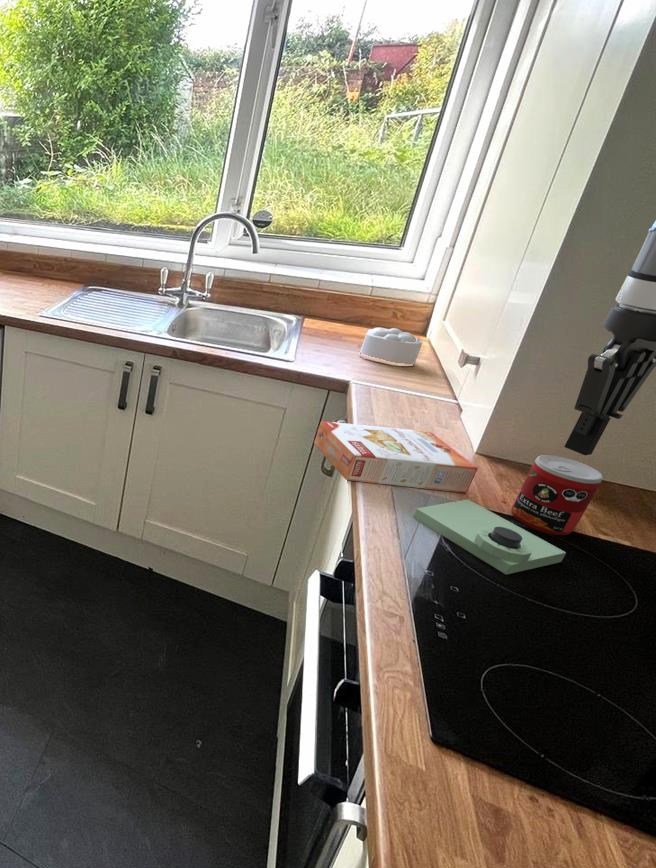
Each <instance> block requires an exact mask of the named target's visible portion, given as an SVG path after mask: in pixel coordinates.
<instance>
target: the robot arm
mask: <svg viewBox="0 0 656 868" xmlns="http://www.w3.org/2000/svg"><path fill="white" fill-rule="evenodd" d="M640 248H641V249H639V253H638V255H637V257H636V258H635V261H634V263H633V264H632V267H631V270H629V273H628V275H626V278H625V279H624V281H623V284H622V286H621V287H620V289H619V291H618V293H617V295H616V297H615V302H617V303H618V304H616V305H613V306H611V308H610V311H609V312H608V314H607V317H606V319H605V320H604V322H603V324H602V327H603V329H604V330H605V331H607V332H609V333H612V335H613V337H611V339H610V340H609V341H608V343H607V344H606V345H605V346H604V347H603V350H602V352H601V353H602V354H600V355H599V354H595V353H592V354H590V355H589V356H588V358H587V368H586V372H585V375H584V378H583V381H582V384H581V387H580V390H579V393H578V396H577V400H576V401H575V406H574V407H573V408H574V410H575V411H578V412H580V415H579V417H578V419H577V421H576V423H575V425H574V427H573V429H572V430H571V432H570V435H569V436H568V439H567V440H566V443H565V444H564V446H563V447H564V448H565V449H567V450H571V451H573V452H574V453H575V452H576V453H578V454H581V455H583V456H591V455H592V454H593V453H594V450H595V449H596V446H597V445H598V443H599V441H600V439H601V438H602V436H603V434H604V432H605V430H606V428H607V427H608V424H609V423H610V421H611V417H612V418H614V419H616V420H620V419H621V418H622V417H623V416H624V415H623V414H621V413H623V412H624V411H625V410H627V407H628V406H629V404H630V403H631V401H632V400H633V399H634V397H635V396H636V394H637V393H638V392H639V390H640V389H641V387H642V386H643V385H644V383H645V382H646V380H647V379H648V378H649V376H650V375H651V373H652V372H653V370H654V369H655V368H656V220H655V221H654V222H653V224H652V226H651V227H650V228H649V229H648V230H647V235H646V237H645V240H644V241H643V244H642V246H641V247H640ZM618 412H620V413H618Z"/></svg>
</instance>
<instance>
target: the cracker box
mask: <svg viewBox="0 0 656 868" xmlns="http://www.w3.org/2000/svg"><path fill="white" fill-rule="evenodd" d="M313 445H314V446H315V447H316V448H317V450H318V451H319V452H320V453H321V454H322V455H323V456H324V457H325V459H327V461H328V462H329V463H330V464H331V465H332V466H333V467H334V468H335V469H336V471H337V472H338V473H339V474H340V475H341V476H342V478H344V480H346V481H353V482H361V483H363V482H364V483H370V484H379V485H389V486H400V487H407V488H417V489H426V490H436V491H445V492H453V493H454V492H455V493H464V494H467V493H468V492H469V489H470V487H471V485H472V482H473V481H474V478H475V476H476V473H477V471H478V469H479V467H478V466H476V465H475V464H473V463H472V462H471V461H469V460H468V459H467V458H465V457H464V456H463V455H461V454H460V453H459V452H457V451H456V450H455V449H453V448H452V447H451V446H450V445H449V444H447V443H446V442H444V441H443V440H442V439H441V438H439V437H438V436H436V435H435V434H434V433H433V432H432V431H428V430H427V431H426V430H415V429H406V428H398V427H397V428H396V427H386V426H377V425H376V426H374V425H364V424H355V423H345V422H335V421H327V420H321V421H320V423H319V425H318V429H317V433H316V435H315V439H314V441H313Z"/></svg>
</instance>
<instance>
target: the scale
mask: <svg viewBox="0 0 656 868" xmlns="http://www.w3.org/2000/svg"><path fill="white" fill-rule="evenodd" d="M412 518H413V519H415V520H417V521H418V522H420V523H422V524H423V525H424V526H426V527H428V529H431V530H433V531H435V532H436V533H438V534H439V535H441V536H442V537H444V538H446V539H448V540H449V541H451V542H452V543H454V544H456V545H457V546H459V547H460V548H462V549H464V550H465V551H467V552H469V553H470V554H472V555H473V556H475V557H477V559H480V560H481V561H483V562H484V563H486V564H488V565H490V566H491V567H493V568H494V569H496V570H497V571H499V572H501V573H503V574H504V575H511V574H514V573H519V572H524V571H528V570H533V569H536V568H540V567H545V566H550V565H554V564H558V563H562V561H563V560H564V558H565V556H566V554H567V552H566V551H564V550H562V549H561V548H559V547H557V546H556V545H553V544H551V543H549V542H548V541H546V540H544V539H543V538H540V537H539V536H537V535H535V534H533V533H532V532H529V531H528V530H525V529H524V528H523V527H521V526H518V525H517V524H514V523H513V522H511V521H509V520H507V519H505V518H503V517H501V516H500V515H498V514H496V513H494V512H493V511H491V510H488V509H487V508H485V507H484V506H481V505H480V504H478V503H475V502H474V501H472V500H470V499H462V500H457V501H450V502H445V503H439V504H433V505H429V506H423V507H422V506H421V507H417V508H416V509H415V510H414V513H413V516H412ZM495 527H504V528H508V529H510V530H513V531H515V532H517V533H518V534H520V535H521V536H522V541H521V543H520V545H519V546H518V548H517V549H512V548H507V547H504V546H501V545H499V544H497V543H495V542H494V541H492V540H491V539H490V536H491V534H492V532H493V530H494V528H495Z"/></svg>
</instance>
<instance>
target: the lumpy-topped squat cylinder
mask: <svg viewBox="0 0 656 868" xmlns="http://www.w3.org/2000/svg"><path fill="white" fill-rule="evenodd" d="M422 345H423V341H422V340H421V339H419V338H417V337H415V335H413V334H412V333H410V332H408V331H407V332H403V331H402V330H401V329H399V328H396V327H393V328H385V327H380V326H379V327H378V326H377V327H374V328H369V329H368V330H367V332H366V333H365V336H364V339H363V342H362V345H361V348H360V351H359V353H360V352H361V353H363V354H365V355H368V356H371V357H375V358H379V359H383V360H386V361H390V362H395V363H405V364H413V363H415V364H416V361H417V359H418V356H419V354H420V351H421V348H422Z"/></svg>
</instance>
